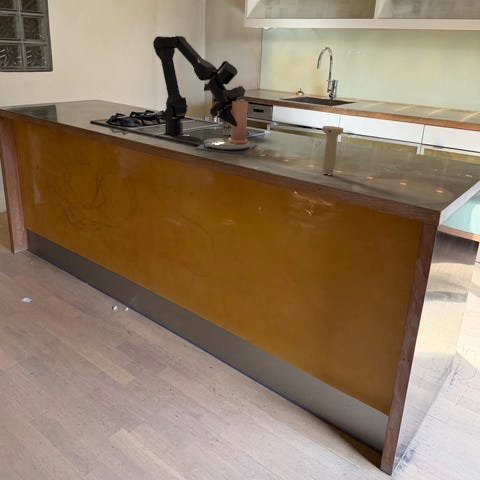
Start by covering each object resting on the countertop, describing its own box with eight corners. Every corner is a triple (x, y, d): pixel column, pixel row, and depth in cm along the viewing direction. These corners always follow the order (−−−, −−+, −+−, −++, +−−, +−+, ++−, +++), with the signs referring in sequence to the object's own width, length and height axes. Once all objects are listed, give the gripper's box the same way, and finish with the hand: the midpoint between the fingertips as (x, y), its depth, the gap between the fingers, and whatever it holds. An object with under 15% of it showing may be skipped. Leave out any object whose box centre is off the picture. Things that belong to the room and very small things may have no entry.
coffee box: (236, 136, 211) (238, 98, 205) (222, 135, 212) (223, 97, 206) (240, 133, 219) (242, 96, 213) (226, 131, 220) (228, 95, 214)
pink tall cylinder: (225, 142, 186) (227, 99, 180) (231, 139, 193) (233, 98, 187) (244, 144, 185) (247, 101, 179) (249, 141, 191) (252, 99, 185)
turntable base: (195, 149, 182) (195, 147, 181) (211, 140, 199) (211, 139, 198) (243, 154, 177) (243, 153, 177) (256, 145, 194) (256, 144, 194)
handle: (321, 171, 159) (326, 125, 153) (339, 174, 156) (345, 128, 150) (315, 174, 155) (320, 127, 149) (333, 177, 152) (339, 129, 146)
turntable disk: (197, 146, 182) (197, 144, 181) (212, 138, 198) (212, 136, 197) (242, 151, 177) (242, 149, 177) (255, 143, 193) (255, 140, 193)
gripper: (216, 79, 175) (239, 113, 173) (246, 77, 189) (268, 109, 187) (200, 99, 182) (221, 132, 181) (229, 96, 196) (250, 127, 195)
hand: (241, 125), depth 186 cm, fingers closed on pink tall cylinder, 6 cm apart
